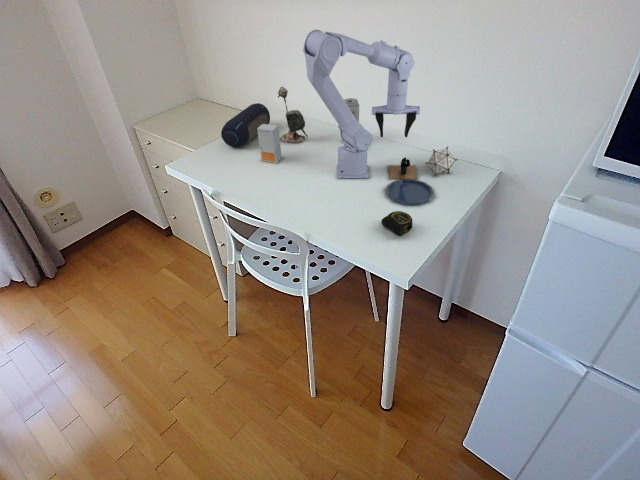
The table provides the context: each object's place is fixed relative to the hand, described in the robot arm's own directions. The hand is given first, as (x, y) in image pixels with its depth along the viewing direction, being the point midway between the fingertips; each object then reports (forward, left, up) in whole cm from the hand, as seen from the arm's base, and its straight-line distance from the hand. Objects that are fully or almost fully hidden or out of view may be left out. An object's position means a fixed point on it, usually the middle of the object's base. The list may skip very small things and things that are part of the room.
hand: (393, 135), depth 128 cm
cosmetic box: (-41, +2, -10) cm, 42 cm away
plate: (+4, -20, -9) cm, 22 cm away
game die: (+15, -7, -10) cm, 19 cm away
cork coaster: (+3, -7, -9) cm, 12 cm away
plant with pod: (-35, +18, -10) cm, 40 cm away
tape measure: (-1, -38, -10) cm, 39 cm away
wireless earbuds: (+4, -8, -9) cm, 13 cm away
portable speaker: (-53, +21, -10) cm, 58 cm away
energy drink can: (-14, +17, -10) cm, 24 cm away
